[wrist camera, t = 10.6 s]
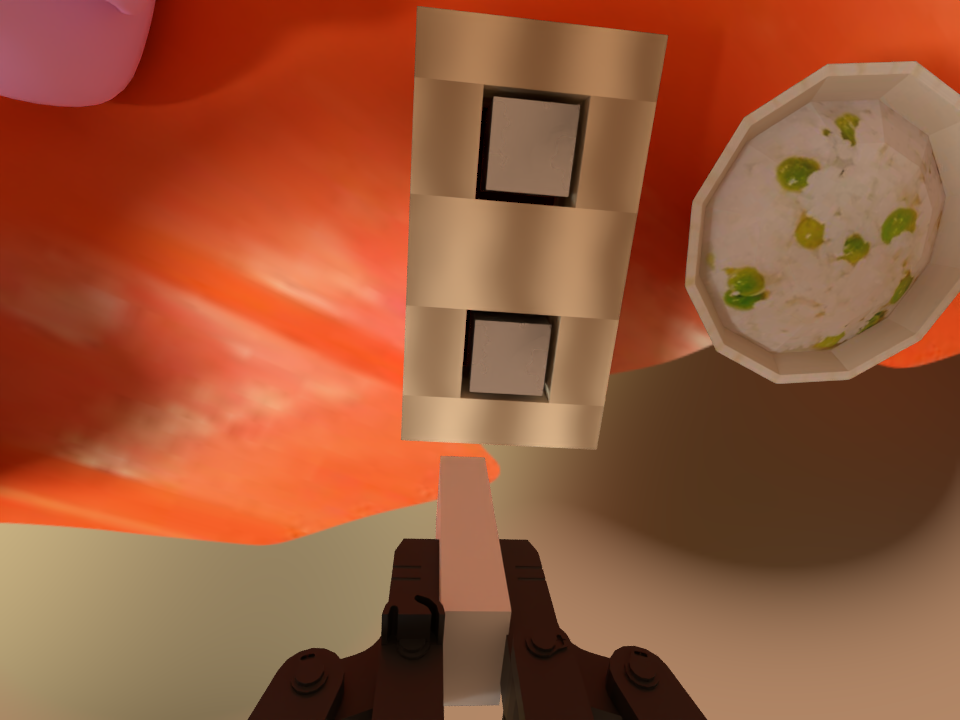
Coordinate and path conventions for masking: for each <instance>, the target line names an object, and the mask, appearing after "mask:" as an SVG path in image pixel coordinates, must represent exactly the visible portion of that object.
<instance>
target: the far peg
mask: <svg viewBox="0 0 960 720" xmlns="http://www.w3.org/2000/svg"><path fill="white" fill-rule="evenodd" d="M550 333H551V324H550V323H549V321H548V320H547V319H546V317H545V316H544V315H538V314H524V313H510V312H495V311H481V310H471V315H470V328H469V340H468V353H467V369H468V380H469V390H470V392H483V393H500V394H518V395H536V396H542V394H543V387H544V379H545V371H546V364H547V356H548V348H549V341H550Z"/></svg>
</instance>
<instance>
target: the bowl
mask: <svg viewBox="0 0 960 720" xmlns="http://www.w3.org/2000/svg"><path fill="white" fill-rule="evenodd" d="M685 288H686V290H687V292H688V294H689V296H690V298H691V300H692V302H693V304H694V306H695V308H696V310H697V312H698V314H699V316H700V318H701V320H702V322H703V324H704V327H705V329H706V331H707V333H708V335H709V337H710V339H711V341H712V343H713V345H714V347H715V349H716V351H717V352H719V353H721V354H723V355H724V356H726V357H728V358H730V359H732V360H733V361H735V362H737V363H739V364H741V365H743V366H745V367H746V368H748V369H750V370H752V371H754V372H756V373H758V374H759V375H761V376H763V377H765V378H767V379H769V380H770V381H772V382H774V383H776V384H782V383H798V382H815V381H831V380H849V379H851V378H853V377H855V376H856V375H858V374H860V373H862V372H864V371H866V370H867V369H869V368H871V367H873V366H875V365H877V364H878V363H880V362H882V361H884V360H886V359H887V358H889V357H891V356H893V355H895V354H896V353H898V352H900V351H902V350H904V349H905V348H907V347H909V346H911V345H913V344H914V343H916V342H918V341H920V340H921V339H922V338H923V337H924V335H925V334H926V333H927V332H928V330H929V329H930V328H931V327H932V325H933V324H934V323H935V322H936V320H937V319H938V318H939V317H940V315H941V314H942V313H943V312H944V310H945V309H946V308H947V307H948V305H949V304H950V303H951V302H952V300H953V299H954V298H955V297H956V295H957V294H958V293H959V292H960V94H958V93H957V92H956V91H954V90H953V89H952V88H950V87H949V86H948V85H946V84H945V83H944V82H943V81H941V80H940V79H939V78H937V77H936V76H935V75H933V74H932V73H931V72H929V71H928V70H927V69H925V68H924V67H923V66H921V65H920V64H919V63H918V62H916V61H907V62H876V63H845V64H827V65H825V66H824V67H822V68H821V69H819V70H817V71H816V72H814V73H813V74H811V75H810V76H808V77H806V78H805V79H803V80H802V81H800V82H799V83H797V84H796V85H794V86H792V87H791V88H789V89H788V90H786V91H785V92H783V93H781V94H780V95H778V96H777V97H775V98H774V99H772V100H771V101H769V102H767V103H766V104H764V105H763V106H761V107H760V108H758V109H757V110H755V111H753V112H752V113H750V114H749V115H747V116H746V117H744V118H743V120H742V122H741V123H740V125H739V126H738V128H737V130H736V131H735V133H734V135H733V136H732V138H731V139H730V141H729V143H728V144H727V146H726V148H725V149H724V151H723V152H722V154H721V156H720V157H719V159H718V161H717V162H716V164H715V165H714V167H713V169H712V170H711V172H710V174H709V175H708V177H707V178H706V180H705V182H704V183H703V185H702V187H701V188H700V190H699V191H698V193H697V195H696V196H695V198H694V200H693V201H692V208H691V219H690V230H689V241H688V252H687V263H686V275H685Z"/></svg>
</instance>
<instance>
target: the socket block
mask: <svg viewBox="0 0 960 720" xmlns="http://www.w3.org/2000/svg"><path fill="white" fill-rule="evenodd" d="M667 40H668V35H663V34H654V33H646V32H637V31H629V30H620V29H611V28H603V27H594V26H586V25H577V24H568V23H560V22H551V21H542V20H534V19H525V18H517V17H508V16H499V15H491V14H482V13H474V12H465V11H456V10H448V9H439V8H430V7H422V6H417V21H416V48H415V75H414V103H413V130H412V157H411V184H410V211H409V239H408V266H407V293H406V320H405V348H404V375H403V402H402V429H401V440H410V441H431V442H451V443H472V444H493V445H514V446H534V447H555V448H578V449H597V444H598V437H599V432H600V426H601V420H602V415H603V409H604V403H605V397H606V392H607V385H608V380H609V374H610V369H611V363H612V357H613V351H614V346H615V340H616V334H617V328H618V323H619V317H620V311H621V305H622V299H623V294H624V288H625V282H626V276H627V271H628V265H629V259H630V253H631V247H632V242H633V236H634V230H635V224H636V219H637V213H638V207H639V201H640V195H641V190H642V184H643V178H644V172H645V167H646V161H647V155H648V149H649V143H650V138H651V132H652V126H653V120H654V115H655V109H656V103H657V97H658V92H659V86H660V80H661V74H662V68H663V63H664V57H665V51H666V45H667ZM494 96H495V97H504V98H514V99H524V100H533V101H543V102H553V103H563V104H572V105H580V111H579V119H578V126H577V134H576V142H575V149H574V157H573V165H572V172H571V180H570V188H569V195H568V197H554V205H553V206H547V205H536V204H524V203H513V202H501V201H490V200H478V199H475V194H476V181H477V168H478V154H479V141H480V128H481V115H482V107H490V104H491V102H492V99H493V97H494ZM467 310H481V311H495V312H510V313H524V314H538V315H544V316H545V317H546V319H547V320H548V321H549V323H550V324H551V333H550V341H549V348H548V356H547V364H546V371H545V379H544V387H543V394H542V396H536V395H518V394H500V393H483V392H470V390H469V380H468V369H467V366H463V353H464V340H465V327H466V314H467Z"/></svg>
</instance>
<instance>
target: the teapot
mask: <svg viewBox="0 0 960 720" xmlns="http://www.w3.org/2000/svg"><path fill="white" fill-rule="evenodd" d="M155 1H156V0H0V95H1V96H4V97H8V98H12V99H16V100H21V101H26V102H31V103H36V104H44V105H52V106H63V107H84V106H91V105H98V104H102V103H104V102H106V101H109V100H111V99H113V98H114V97H115V96H116V95H118V94H119V93H120V92H121V91H123V90H124V89H125V88H126V86H127V85H128V83H129V82H130V81H131V79H132V78H133V76H134V74H135V72H136V69H137V67H138V64H139V62H140V59H141V57H142V53H143V50H144V47H145V43H146V40H147V37H148V33H149V29H150V25H151V21H152V17H153V12H154V7H155Z"/></svg>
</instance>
